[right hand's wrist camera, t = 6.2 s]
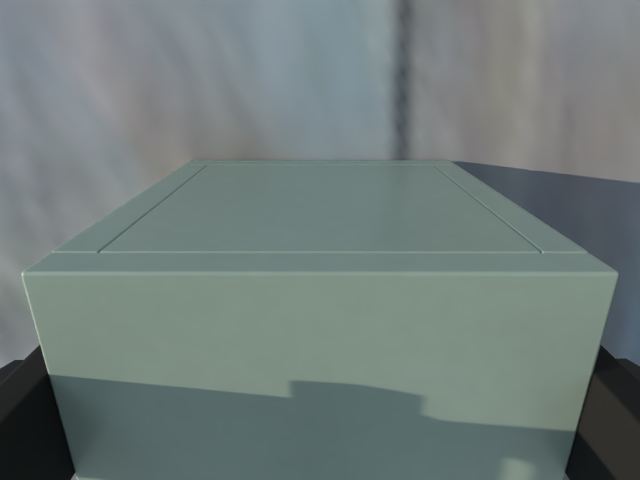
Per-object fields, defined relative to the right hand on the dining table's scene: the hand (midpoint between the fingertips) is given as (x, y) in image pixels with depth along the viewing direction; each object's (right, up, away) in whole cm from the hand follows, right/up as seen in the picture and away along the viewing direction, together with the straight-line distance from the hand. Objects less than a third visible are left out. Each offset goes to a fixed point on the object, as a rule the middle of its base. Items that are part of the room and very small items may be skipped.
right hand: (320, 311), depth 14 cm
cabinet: (0, -4, +8) cm, 10 cm away
